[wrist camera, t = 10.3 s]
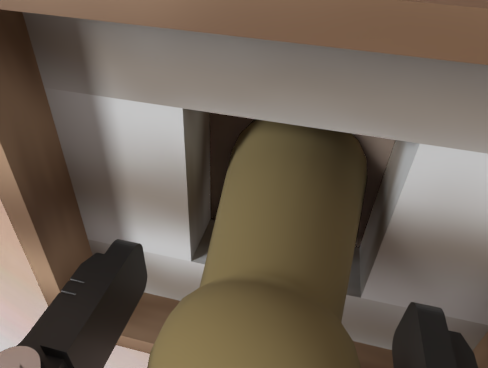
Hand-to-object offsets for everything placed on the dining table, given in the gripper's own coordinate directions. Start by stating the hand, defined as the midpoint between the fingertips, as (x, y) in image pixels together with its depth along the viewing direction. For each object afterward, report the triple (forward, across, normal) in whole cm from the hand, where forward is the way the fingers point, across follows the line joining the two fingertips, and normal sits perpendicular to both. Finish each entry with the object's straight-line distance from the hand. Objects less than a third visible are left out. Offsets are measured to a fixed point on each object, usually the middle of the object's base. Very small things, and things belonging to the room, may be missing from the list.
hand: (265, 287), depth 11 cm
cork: (+7, 0, 0) cm, 7 cm away
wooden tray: (+7, 0, 0) cm, 7 cm away
